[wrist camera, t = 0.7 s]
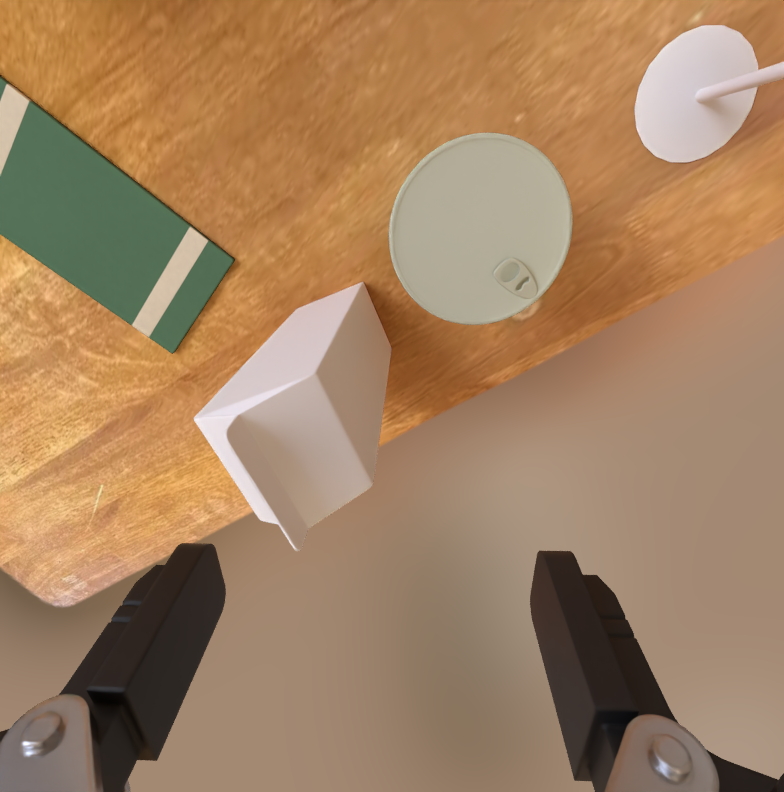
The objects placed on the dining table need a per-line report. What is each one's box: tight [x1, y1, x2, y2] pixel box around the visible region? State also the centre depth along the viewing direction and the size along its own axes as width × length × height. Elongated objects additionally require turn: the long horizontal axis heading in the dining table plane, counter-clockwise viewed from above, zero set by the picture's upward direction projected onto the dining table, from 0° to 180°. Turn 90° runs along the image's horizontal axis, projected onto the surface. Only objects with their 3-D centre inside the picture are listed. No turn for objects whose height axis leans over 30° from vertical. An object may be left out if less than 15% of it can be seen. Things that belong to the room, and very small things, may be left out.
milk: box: [194, 282, 392, 551], centre depth 27 cm, size 6×6×22 cm
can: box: [389, 133, 573, 325], centre depth 28 cm, size 9×9×12 cm
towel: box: [0, 76, 235, 354], centre depth 34 cm, size 10×20×1 cm, turn 50°
